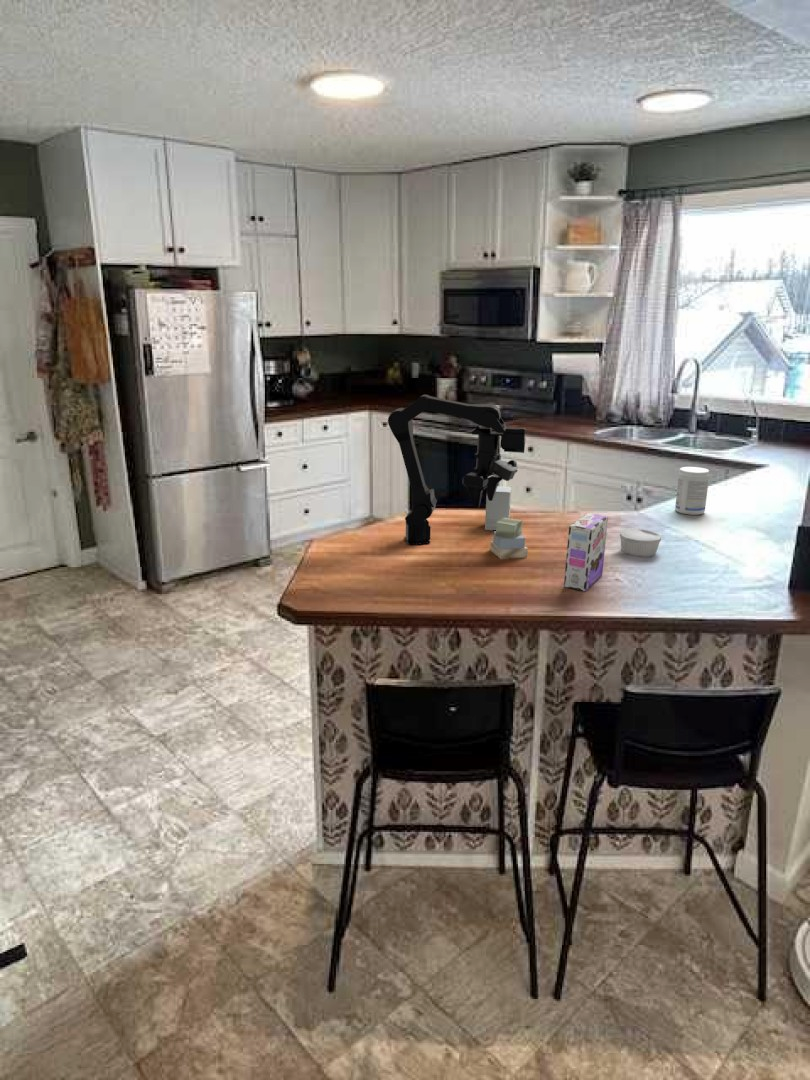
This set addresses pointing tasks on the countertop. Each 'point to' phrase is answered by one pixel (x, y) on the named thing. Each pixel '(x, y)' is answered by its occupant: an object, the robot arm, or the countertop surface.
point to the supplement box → (497, 507)
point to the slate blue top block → (509, 542)
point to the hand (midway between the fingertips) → (483, 504)
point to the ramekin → (639, 542)
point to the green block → (509, 528)
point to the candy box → (585, 551)
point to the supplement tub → (692, 490)
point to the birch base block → (508, 552)
